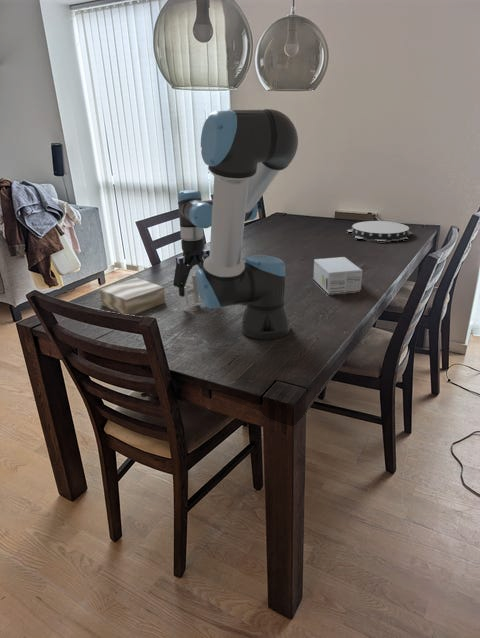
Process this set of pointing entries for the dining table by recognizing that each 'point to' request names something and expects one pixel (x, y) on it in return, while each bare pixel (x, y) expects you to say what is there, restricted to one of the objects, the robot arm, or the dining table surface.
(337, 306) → the dining table surface
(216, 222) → the robot arm
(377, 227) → the tambourine
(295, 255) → the dining table surface
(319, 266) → the supplement box
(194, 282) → the pipe connector
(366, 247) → the dining table surface
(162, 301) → the stand
